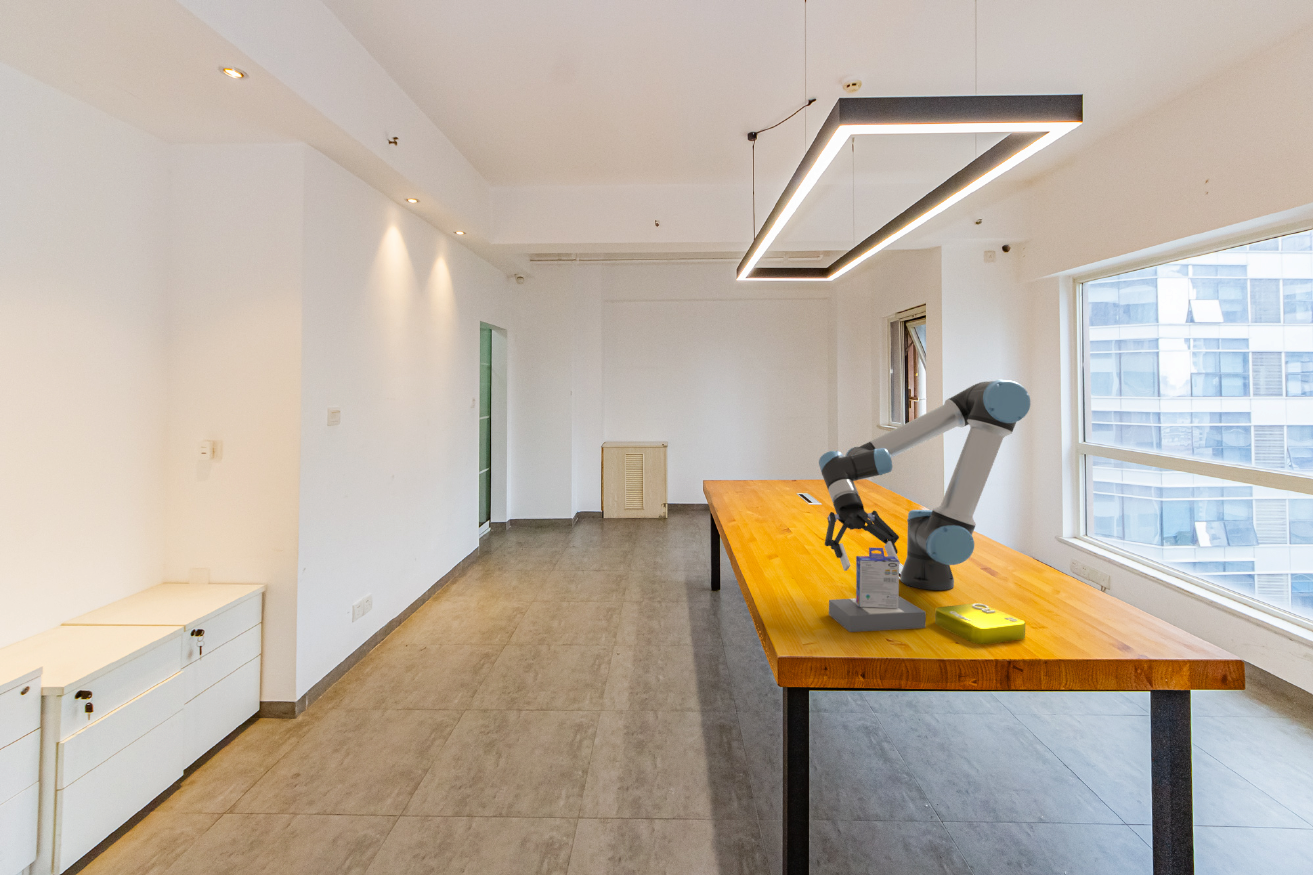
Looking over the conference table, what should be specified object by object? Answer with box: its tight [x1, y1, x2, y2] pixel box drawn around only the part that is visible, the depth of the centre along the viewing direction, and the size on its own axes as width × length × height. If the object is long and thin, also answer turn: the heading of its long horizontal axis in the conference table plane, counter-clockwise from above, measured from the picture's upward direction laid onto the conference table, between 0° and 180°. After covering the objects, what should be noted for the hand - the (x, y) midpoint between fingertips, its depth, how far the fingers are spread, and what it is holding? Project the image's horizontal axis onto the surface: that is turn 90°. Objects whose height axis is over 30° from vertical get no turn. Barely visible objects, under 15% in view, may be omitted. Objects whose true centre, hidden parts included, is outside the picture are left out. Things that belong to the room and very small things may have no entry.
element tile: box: [934, 602, 1026, 645], centre depth 144 cm, size 15×15×5 cm
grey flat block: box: [828, 596, 927, 633], centre depth 150 cm, size 20×12×4 cm, turn 98°
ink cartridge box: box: [855, 547, 900, 608], centre depth 150 cm, size 10×6×14 cm, turn 83°
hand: (872, 567), depth 150 cm, fingers open, 13 cm apart
